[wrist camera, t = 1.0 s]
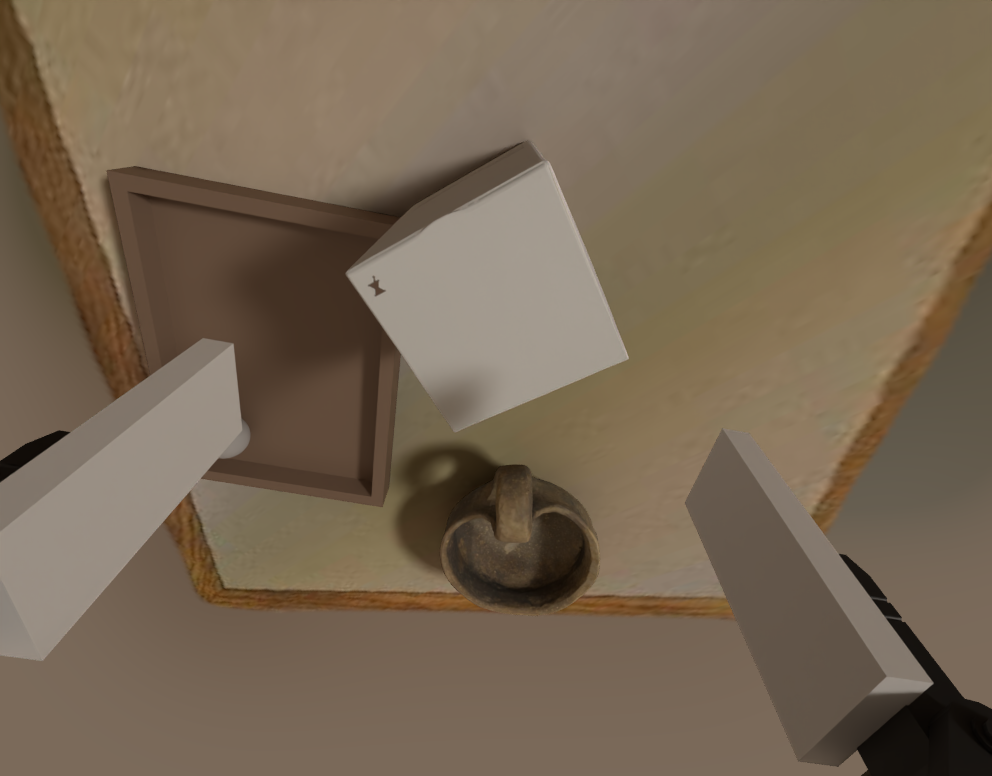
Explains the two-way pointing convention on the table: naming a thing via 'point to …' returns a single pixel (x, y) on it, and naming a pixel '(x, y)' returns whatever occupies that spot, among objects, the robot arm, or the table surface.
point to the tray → (269, 323)
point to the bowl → (520, 545)
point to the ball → (238, 442)
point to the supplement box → (490, 291)
